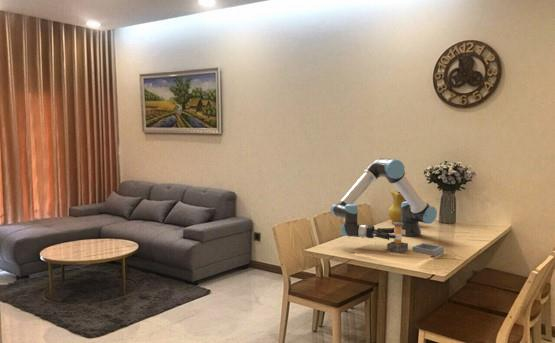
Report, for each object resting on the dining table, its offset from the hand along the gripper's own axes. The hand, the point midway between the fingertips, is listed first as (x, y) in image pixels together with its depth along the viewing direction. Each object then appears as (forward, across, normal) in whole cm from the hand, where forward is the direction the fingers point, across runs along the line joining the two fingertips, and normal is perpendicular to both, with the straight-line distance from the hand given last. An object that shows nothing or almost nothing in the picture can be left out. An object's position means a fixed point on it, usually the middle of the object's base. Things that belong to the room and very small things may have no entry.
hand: (403, 234), depth 264 cm
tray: (+13, -5, -11) cm, 18 cm away
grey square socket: (-3, 0, -11) cm, 11 cm away
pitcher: (-16, -88, -11) cm, 90 cm away
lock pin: (-3, 0, -10) cm, 10 cm away
